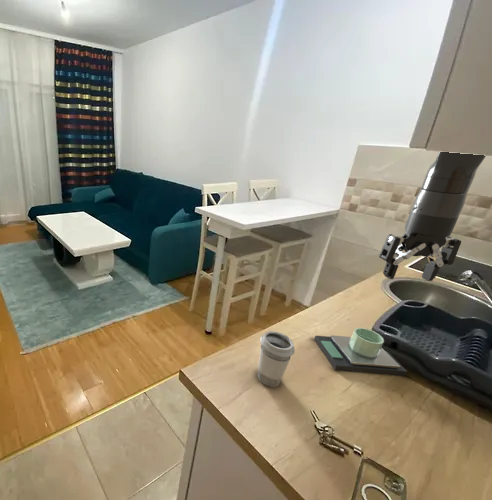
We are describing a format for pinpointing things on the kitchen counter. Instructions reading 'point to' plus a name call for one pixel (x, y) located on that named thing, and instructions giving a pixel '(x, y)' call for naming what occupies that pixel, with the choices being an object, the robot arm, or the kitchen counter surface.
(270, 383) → the cup
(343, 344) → the scale pan
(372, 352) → the bowl
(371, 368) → the scale
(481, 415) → the kitchen counter surface
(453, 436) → the kitchen counter surface
